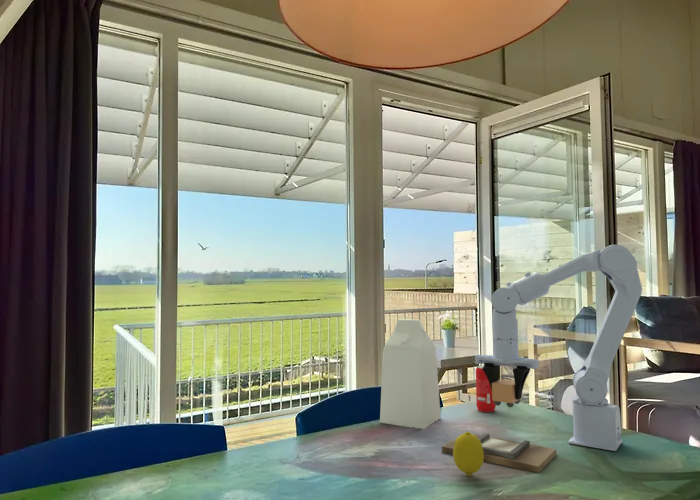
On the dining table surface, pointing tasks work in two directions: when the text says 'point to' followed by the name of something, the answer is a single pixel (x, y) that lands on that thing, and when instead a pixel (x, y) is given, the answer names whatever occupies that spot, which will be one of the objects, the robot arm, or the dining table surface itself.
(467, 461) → the lemon
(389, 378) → the milk
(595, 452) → the dining table surface
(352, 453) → the dining table surface
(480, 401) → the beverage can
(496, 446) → the dock
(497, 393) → the toy cart
